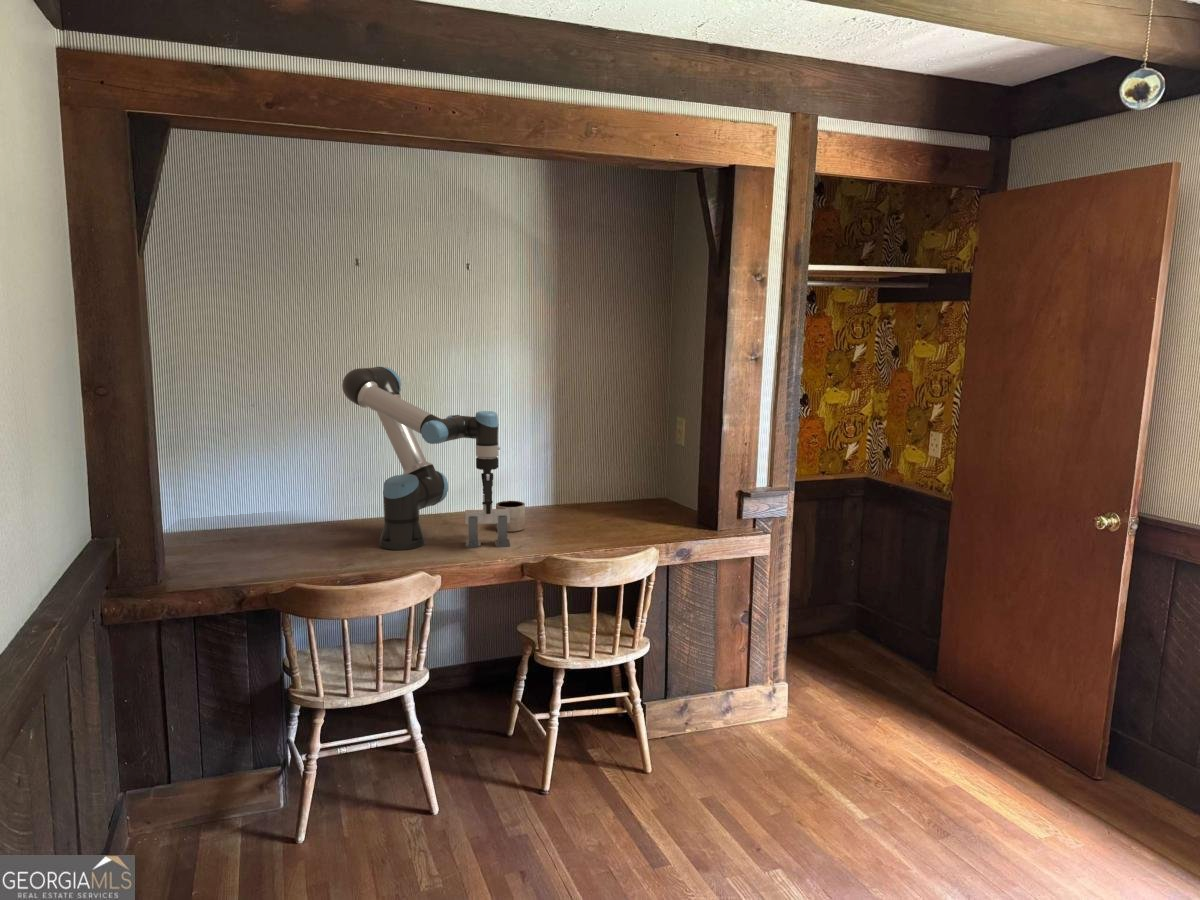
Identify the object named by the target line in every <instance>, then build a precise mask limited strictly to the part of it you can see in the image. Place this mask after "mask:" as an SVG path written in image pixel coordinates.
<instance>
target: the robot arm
mask: <svg viewBox="0 0 1200 900" xmlns="http://www.w3.org/2000/svg"><path fill="white" fill-rule="evenodd" d="M398 374H399V373H397V372H396V371H395V370H394V369H392V368H390V367H387V366H386V367H385V366H375V367H362V368H361V367H360V368H355V369H354V368H353V369H352V370H350V371H349V372H347V374H345V376H344V377H343V380H342V384H341V386H342V392H343V395H344V396H345V397H346V398H347V399H348V400H349V401H350V402H352V403H353V404H355V405H357V406H359V407H361V408H364V409H365V408H369V409H370V410H372V411H374V412H375V413H376V414H377V415H378V418H379V420H380V422H381V424H382V426H383V428H384V430H385V433H386V435H387V437H388V440H389V441H390V443H391V446H392V447H393V451H394V452H395V455H396V456H397V459H398V460H399V463H400V465H401V468H402V470H403V473H402V474H399V475H398V474H396V475H392V476H390V477H389V478H387V479H385V480H384V482H383V490H382V495H383V516H384V517H383V518H384V520H383V521H384V523H383V527H382V531H381V534H380V536H379V547H381V548H383V549H386V550H393V551H407V550H412V549H413V550H414V549H417V548H420V547H422V546H424V545H425V544H426V538H425V537H426V536H425V533H424V531H423V528H422V525H421V522H420V510H422V509H425V508H428V507H432V506H435V505H438V504H439V503H442V501H444V500H445V498H446V497H447V495H448V492H449V482H448V479H447V477H446V476H445V475H444V473H443V472H441V471H439V470H436V468H435V466H434V464H433V463H431V462H428V461H427V459H426V457H425V455H424V453H423V451H422V448H421V446H420V444H419V442H418V441H417V437H416V436H415V434H414V432H416V433H418V434H420V435H421V437H422V439H423V440H424V442H425V443H427V444H431V445H435V444H436V445H437V444H438V445H439V444H442V443H446V442H449V441H455V440H459V439H472V440H473V439H474V440H475V457H476V458H475V468H476V469H477V470H481V471H482V473H481V474H480V476H481V482H482V494H483V495H482V502H481V503H482V510H484V523H492V509H493V486H494V473H493V472H492V470H496V469H498V468H499V457H498V456H499V451H500V450H501V447H500V446H499V418H498V416H499V415H498V413H497V412H495V411H492V410H489V411H488V410H483V411H482V410H480V411H477V412H476V413H475V416H469V415H461V414H450V415H448V416H446V418H441V417H438V416H436V415H434V414H432V413H430V412H429V411H427V410H424V409H423V408H420V407H418V406H417V405H414V404H413V403H411V402H408V401H406V400H405V399H402V396H401V394H400V392H401V390H402V388H401V387H402V382H401V378H400V376H399V375H398ZM413 431H414V432H413Z"/></svg>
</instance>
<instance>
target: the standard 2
mask: <svg viewBox="0 0 1200 900" xmlns="http://www.w3.org/2000/svg"><path fill="white" fill-rule="evenodd" d="M497 524H498V530H497V538H496V539H494V545H495V546H494V547H495V548H509V547H511V542H510V539H509V538H508V532H507V517H498V523H497Z"/></svg>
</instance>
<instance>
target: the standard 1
mask: <svg viewBox="0 0 1200 900" xmlns="http://www.w3.org/2000/svg"><path fill="white" fill-rule="evenodd" d="M478 527H479V524H478V518H477V517H475V518H469V524H468V539H467V540H465V549H478V548H477V547H482V545H481V539H479V536H478V535H479V531H478Z"/></svg>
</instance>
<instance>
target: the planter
mask: <svg viewBox="0 0 1200 900" xmlns="http://www.w3.org/2000/svg"><path fill="white" fill-rule="evenodd" d="M525 504H526V503H525V502H522V501H519V500H502V501H499V502H496V503H495V509H509V510H510V523H507V533H518V532H520V531H524V530H525V528H526V505H525ZM495 529H496V530H497V531H498V524H497V523H495Z"/></svg>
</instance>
